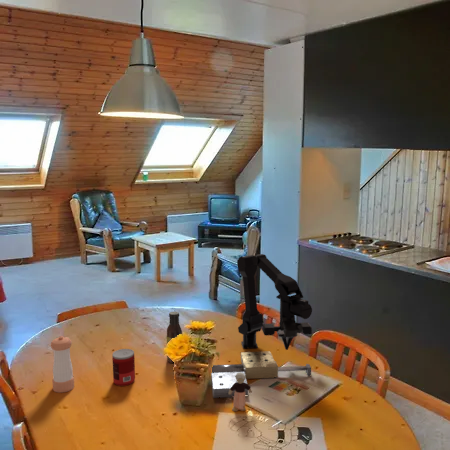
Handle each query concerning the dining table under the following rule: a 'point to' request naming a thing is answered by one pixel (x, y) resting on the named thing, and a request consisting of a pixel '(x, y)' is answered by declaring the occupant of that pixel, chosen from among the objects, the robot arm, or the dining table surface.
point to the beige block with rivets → (259, 365)
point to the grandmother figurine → (239, 392)
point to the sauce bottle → (173, 328)
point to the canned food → (123, 367)
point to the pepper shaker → (62, 365)
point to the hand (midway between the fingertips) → (286, 349)
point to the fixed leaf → (226, 377)
